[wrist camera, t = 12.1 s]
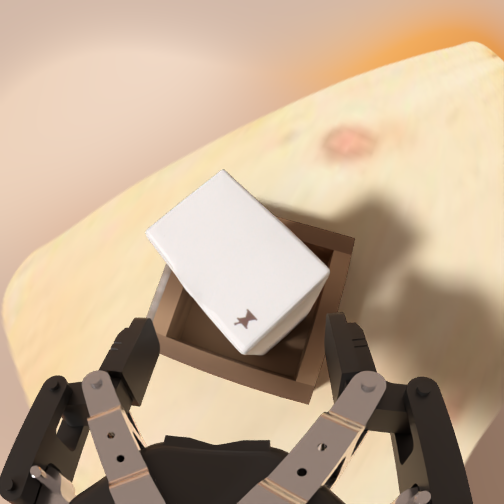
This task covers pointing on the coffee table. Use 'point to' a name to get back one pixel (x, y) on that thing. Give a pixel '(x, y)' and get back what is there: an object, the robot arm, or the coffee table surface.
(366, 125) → the coffee table surface
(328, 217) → the coffee table surface
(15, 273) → the coffee table surface
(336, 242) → the box
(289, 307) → the skincare box
